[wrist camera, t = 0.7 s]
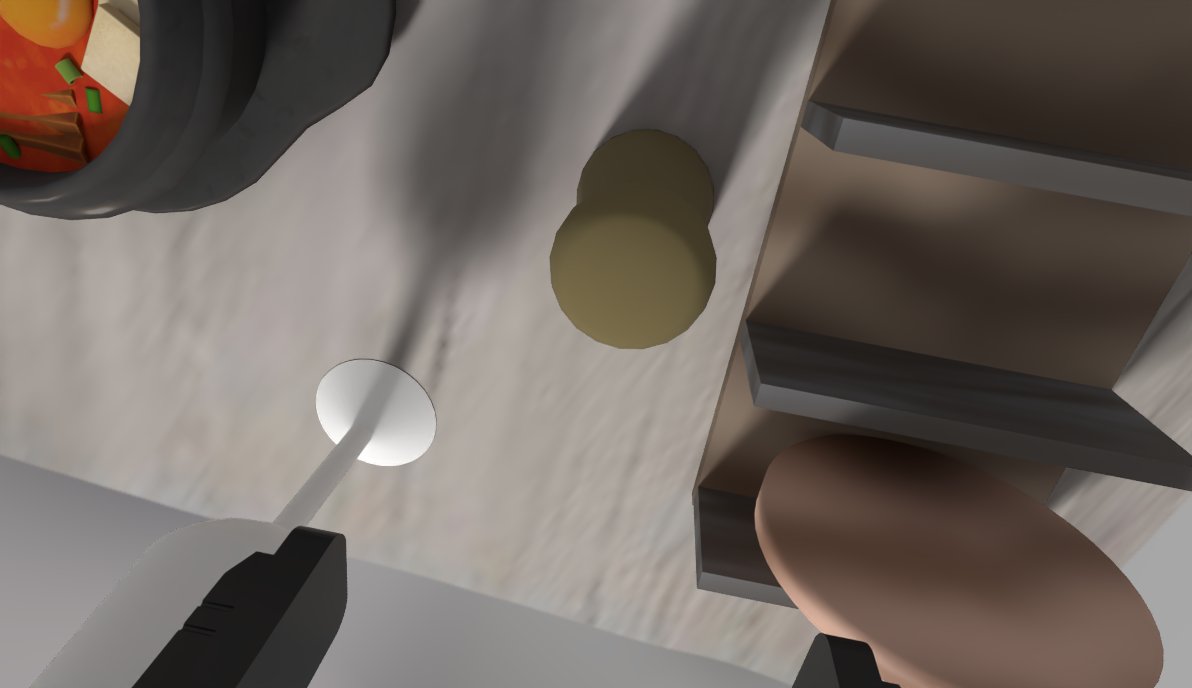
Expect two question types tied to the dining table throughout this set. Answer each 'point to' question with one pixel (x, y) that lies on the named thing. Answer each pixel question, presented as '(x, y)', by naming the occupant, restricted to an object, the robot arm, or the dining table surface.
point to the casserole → (169, 95)
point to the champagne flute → (241, 530)
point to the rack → (958, 338)
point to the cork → (637, 242)
